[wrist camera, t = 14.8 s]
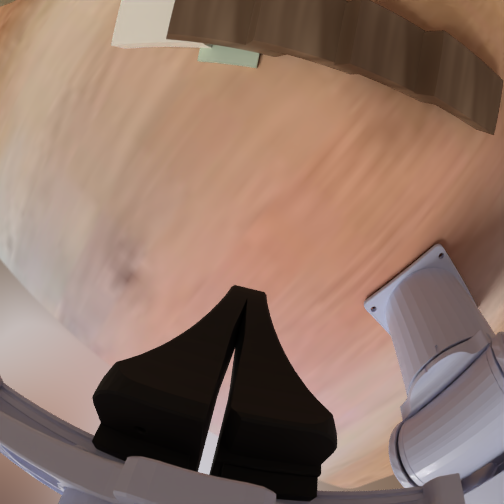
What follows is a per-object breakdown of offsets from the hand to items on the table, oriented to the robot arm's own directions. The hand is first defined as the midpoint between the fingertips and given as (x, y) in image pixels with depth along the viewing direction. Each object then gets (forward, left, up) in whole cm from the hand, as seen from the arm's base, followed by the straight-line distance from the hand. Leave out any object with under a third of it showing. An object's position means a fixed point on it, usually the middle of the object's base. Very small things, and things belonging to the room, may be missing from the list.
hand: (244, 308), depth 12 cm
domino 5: (-4, -19, -10) cm, 21 cm away
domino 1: (+12, -8, -9) cm, 17 cm away
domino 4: (0, -16, -10) cm, 19 cm away
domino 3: (+4, -13, -10) cm, 17 cm away
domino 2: (+8, -11, -10) cm, 17 cm away
